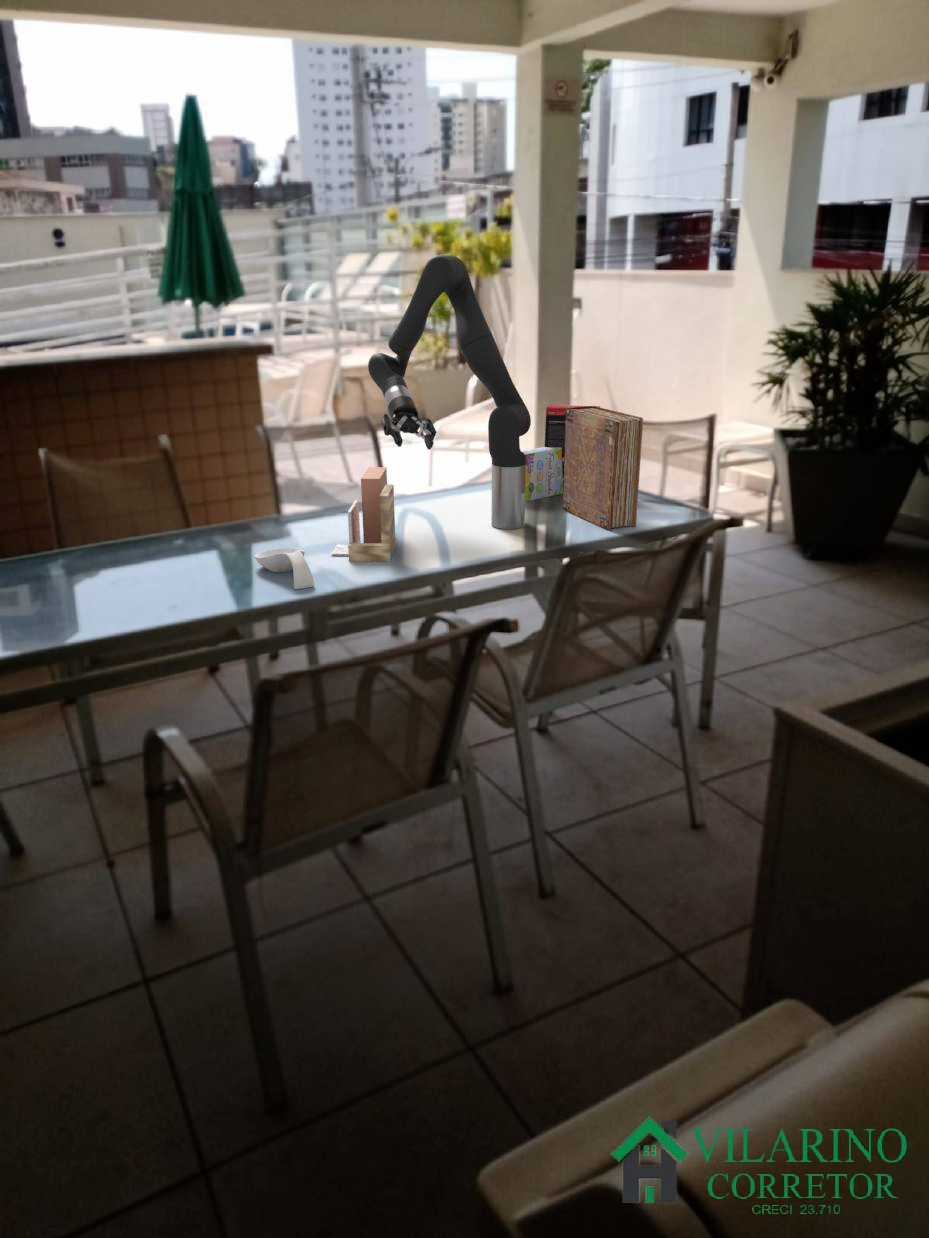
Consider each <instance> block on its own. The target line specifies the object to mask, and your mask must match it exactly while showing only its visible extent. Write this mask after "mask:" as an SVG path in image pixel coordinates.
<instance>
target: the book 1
mask: <svg viewBox="0 0 929 1238" xmlns="http://www.w3.org/2000/svg"><path fill="white" fill-rule="evenodd" d="M387 474H388V473H387V467H386V466H384V467H383V466H382V467H381V466H368V467H367V468H366V470H365V472H364V473H363V475H362V476H361V477H360V488H361V489H360V490H361V494H360V495H361V511H362V514H361V515H362V532H363V534H362V535H363V543H382V542H381V517H380V494H381V492H382V490H383V489H384V487H385V485H388V475H387Z"/></svg>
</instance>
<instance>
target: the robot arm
mask: <svg viewBox="0 0 929 1238" xmlns="http://www.w3.org/2000/svg"><path fill="white" fill-rule="evenodd" d="M468 271H469V270H468V268H467V266H466V265H465V263H464V261H463V260H462V259H460V258H459V257H457V256H456V255H449V254H447V255H446V254H439V255H437V254H436V255H434V256H432V257H431V258H430V259H428V261H427V262H426V263H425V265H424V268H423V269H422V272H421V275H420V278H419V280H418V282H417V285H416V288H415V290H414V292H413V295H412V297H411V300H410V302H409V304H408V306H407V308H406V310H405V312H404V314H403V316H402V318H401V319H400V321H399V323H398V324H397V326H396V328H395V329H394V331H393V333H392V334H391V336H390V338H389V340H388V347H389V349H390V350H391V351H392V352H393V353H394V354H396V356H394V357H393V356H391V355H388V354H387V353H386V354H385V353H383V352H376V353H373V354H372V355H371V356H370V358H369V359H368V363H367V365H368V366H367V368H368V373H369V376H370V378H371V379H372V381H373V382H374V383H375V384H376V386H377V387H378V388H379V390H381V392H382V396H383V398H384V402H385V407H386V409H387V411H388V414H389V415H388V414H387V413H384V414H383V417H382V419H381V425H382V429H383V433H384V435H385V436H386V437H387V436H388V437H389V436H391V438H393V442H394V444H395V445H396V446H397V447H399V448H400V447H402V445H403V441H404V440H403V438H402V435H401V432H402V433H403V434H404V433H405V434H413V435H415V436H416V437H417V438H421V439H422V440H423V441H424V444H425V446H426V449H427V450H431V449H432V448H433V446H434V439H435V438H436V435H437V430H436V428H435V426H434V423H433V421H432V419H430V418H426V420H422V419H421V418H420V416H419V413H418V408H417V407H416V404H415V401H414V399H413V395H412V393H410V391H409V388H408V385H407V383H406V380H405V379H404V377H405V374H406V371H407V368H408V364H409V361H410V357H411V356H412V353H413V351H414V349H415V348H416V346H417V344H418V343H419V341H420V340H421V338H422V336H423V334H424V332H425V328H426V325H427V321H428V317H429V314H430V311H431V309H432V307H433V305H434V304H435V303H436V301H437V300H438V299H439V298H440V297H441V295H443V293H444V294H446V296H447V298H448V300H449V302H450V304H451V306H452V309H453V311H454V315H455V320H456V331H457V341H458V345H459V348H460V351H461V353H462V355H463V357H464V360H465V362H466V364H467V366H468V367H469V369H470V370H471V372H472V374H474V375H475V377H476V378H477V379H478V380H479V381H480V382H481V384H482V385H483V386H484V387H485V388H486V389H487V391H488V392H489V393H490V395H491V397H492V399H493V401H494V404H495V406H496V408H494V409H493V410H492V411H491V413H490V415H489V418H488V422H487V423H488V424H487V431H488V433H487V434H488V451H489V455H490V458H491V517H490V519H491V526H492V527H494V528H498V529H505V530H514V529H521V528H525V525H526V524H525V523H526V522H525V521H526V520H525V517H526V516H525V514H526V502H525V463H526V457H525V454H524V453H523V452H521V451H522V450H521V447H520V446H521V445H520V437H522V436H524V435H525V434H527V433H528V432H529V430H530V428H531V425H532V423H531V422H532V421H531V420H532V419H531V415H530V412H529V410H528V408H527V405H526V404H525V402H524V400H523V398H522V397H521V395H520V393H519V391H518V390H517V388H516V386H515V383H514V382H513V379H512V378H511V375H510V373H509V371H508V368H507V365H506V364H505V361H504V359H503V357H502V355H501V352H500V349H499V347H498V344H497V342H496V340H495V337H494V335H493V333H492V331H491V329H490V326H489V325H488V322H487V320H486V318H485V316H484V315H485V314H484V313H483V311H482V308H481V306H480V305H479V302H478V299H477V296H476V294H475V291H474V287H473V284H472V282H471V281H472V280H471V278H470V275H469V272H468ZM392 425H393V426H394V428H392Z"/></svg>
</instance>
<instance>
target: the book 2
mask: <svg viewBox="0 0 929 1238" xmlns="http://www.w3.org/2000/svg"><path fill="white" fill-rule="evenodd" d="M587 406H588V407H575V408H566V419H565V452H564V486H563V494H562V495H563V497H562V511H564V512H567V513H569V514H571V515H573V516H575V517H577V518H580V519H581V520H584V521H586V522H588V523H590V524H592V525H594V526H596V527H598V528H601V529H603V530H605V531H607V532H608V531H610V530H611V529H614V528H622V527H629V526H631V527H634V528H635V527H636V526H637V521H638V520H637V519H638V518H637V516H638V506H639V505H638V502H639V487H640V473H641V471H640V470H641V458H642V457H641V456H642V445H643V442H642V441H643V429H644V428H643V427H644V417H641V416H638V415H633V414H629V413H624V412H621V411H616V410H612V409H608V408H603V407H601V406H600V407H596V406H597V405H596V406H595V405H587Z"/></svg>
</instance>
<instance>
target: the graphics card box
mask: <svg viewBox="0 0 929 1238" xmlns="http://www.w3.org/2000/svg"><path fill="white" fill-rule="evenodd" d="M588 406H589V405H568V404H567V405H565V404H564V405H560V404H559V405H558V404H557V405H555V404H554V405H553V404H550V405H549V404H548V405H547V404H546V407H545V408H546V409H545V423H544V425H545V426H544V447H560V448H562V474H563V475H562V476H563V486H564V452H565V419H566V408H575V407H588ZM596 407H600V408H601V406H600V405H596Z"/></svg>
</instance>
